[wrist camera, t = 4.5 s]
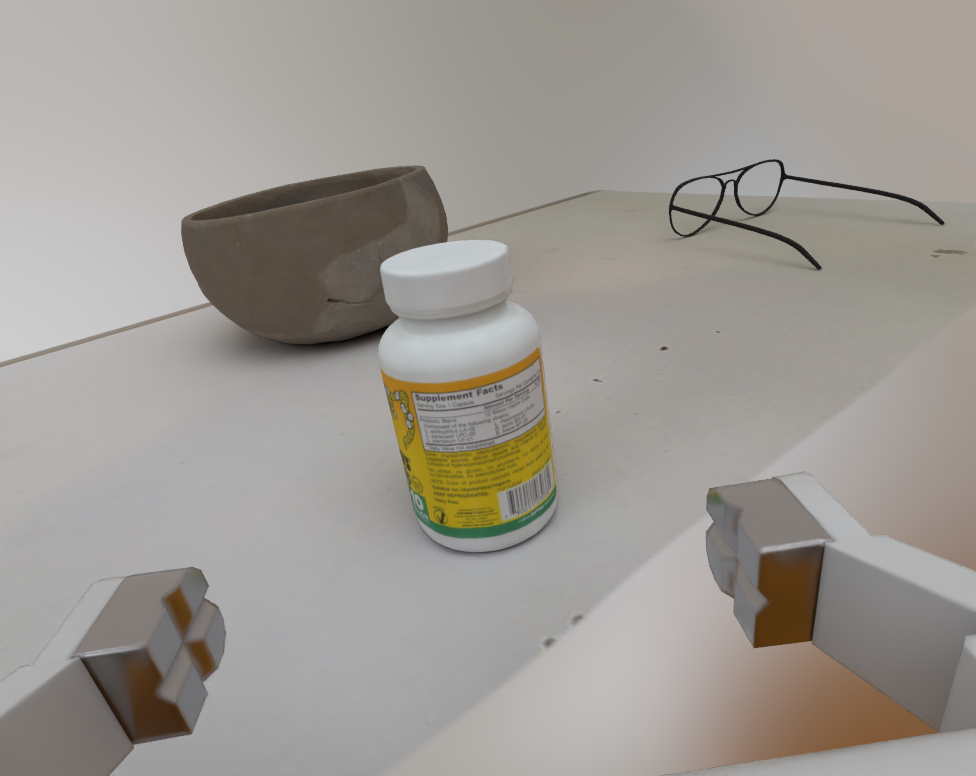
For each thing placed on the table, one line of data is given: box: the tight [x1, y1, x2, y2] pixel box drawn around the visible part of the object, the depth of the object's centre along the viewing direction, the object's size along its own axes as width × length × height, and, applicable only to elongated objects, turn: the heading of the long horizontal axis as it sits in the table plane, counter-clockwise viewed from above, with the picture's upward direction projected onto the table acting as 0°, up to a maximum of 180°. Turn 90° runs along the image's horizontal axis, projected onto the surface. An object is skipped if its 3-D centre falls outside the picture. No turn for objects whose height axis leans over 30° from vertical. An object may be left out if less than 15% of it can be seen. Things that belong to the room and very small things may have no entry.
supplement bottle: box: [378, 240, 558, 552], centre depth 21 cm, size 5×5×10 cm
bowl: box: [181, 166, 448, 344], centre depth 44 cm, size 17×18×10 cm
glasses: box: [669, 159, 944, 269], centre depth 49 cm, size 14×15×5 cm
